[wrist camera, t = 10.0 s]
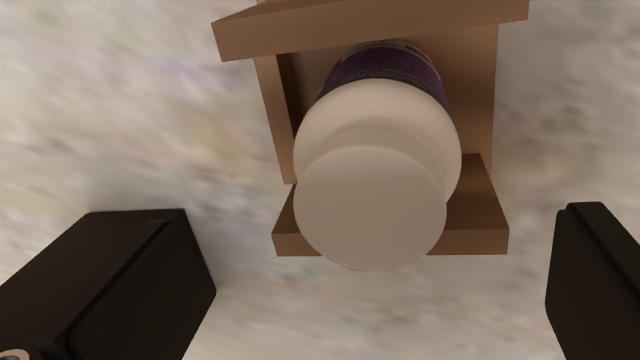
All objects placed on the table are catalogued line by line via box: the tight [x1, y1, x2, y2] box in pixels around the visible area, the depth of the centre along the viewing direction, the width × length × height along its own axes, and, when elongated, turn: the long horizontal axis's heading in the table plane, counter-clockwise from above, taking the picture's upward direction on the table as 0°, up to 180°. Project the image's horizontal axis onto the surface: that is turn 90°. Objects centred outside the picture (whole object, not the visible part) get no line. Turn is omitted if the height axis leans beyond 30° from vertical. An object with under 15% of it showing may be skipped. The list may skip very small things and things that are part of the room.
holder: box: [211, 0, 529, 256], centre depth 16 cm, size 12×10×7 cm
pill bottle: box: [293, 39, 462, 271], centre depth 14 cm, size 5×5×10 cm
